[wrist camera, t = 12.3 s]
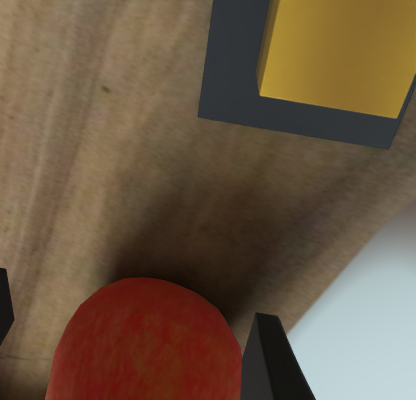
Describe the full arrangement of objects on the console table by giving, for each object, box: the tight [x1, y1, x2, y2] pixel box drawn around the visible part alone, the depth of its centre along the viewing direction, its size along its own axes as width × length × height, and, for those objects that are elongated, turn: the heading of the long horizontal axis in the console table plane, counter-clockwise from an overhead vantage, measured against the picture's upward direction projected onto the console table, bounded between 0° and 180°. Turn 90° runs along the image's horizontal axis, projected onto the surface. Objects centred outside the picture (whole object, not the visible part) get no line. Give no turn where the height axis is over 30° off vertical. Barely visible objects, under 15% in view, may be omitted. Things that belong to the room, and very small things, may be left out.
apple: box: [45, 277, 242, 400], centre depth 19 cm, size 10×10×10 cm
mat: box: [198, 0, 416, 150], centre depth 14 cm, size 9×9×1 cm
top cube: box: [256, 0, 416, 118], centre depth 12 cm, size 4×4×4 cm
